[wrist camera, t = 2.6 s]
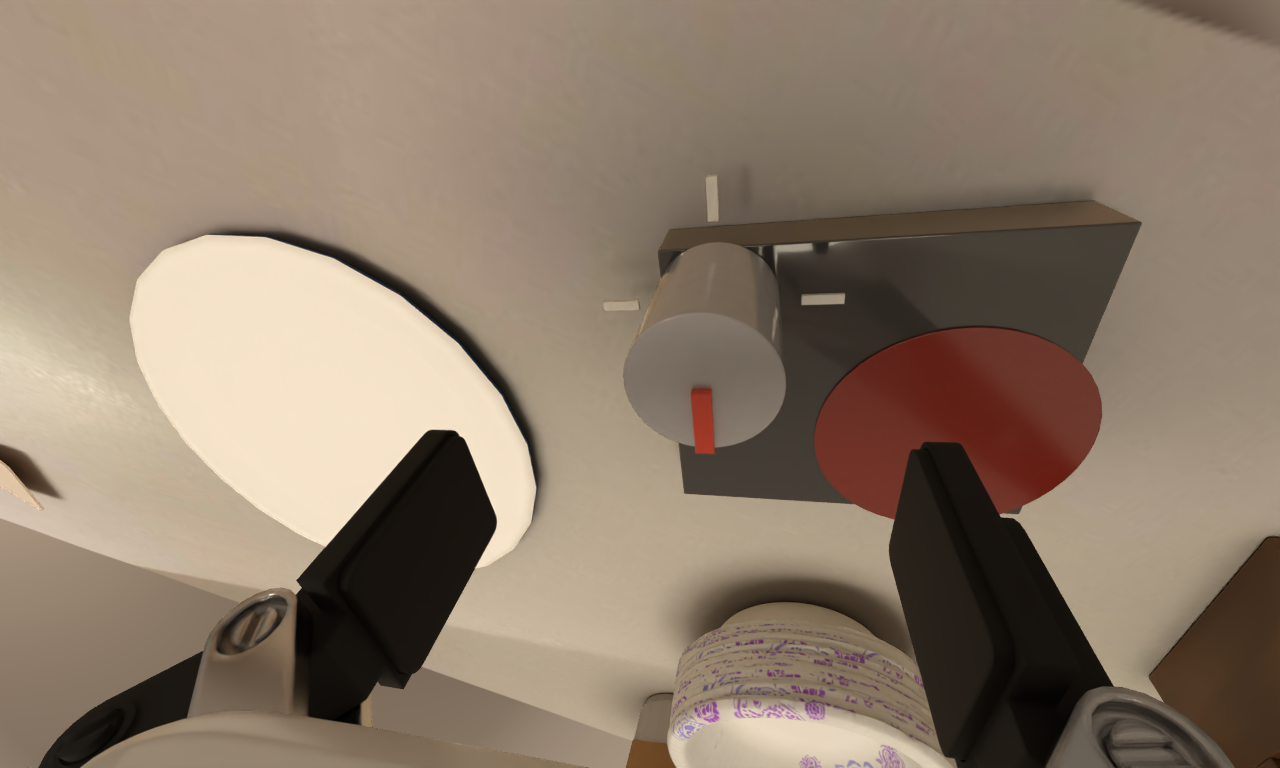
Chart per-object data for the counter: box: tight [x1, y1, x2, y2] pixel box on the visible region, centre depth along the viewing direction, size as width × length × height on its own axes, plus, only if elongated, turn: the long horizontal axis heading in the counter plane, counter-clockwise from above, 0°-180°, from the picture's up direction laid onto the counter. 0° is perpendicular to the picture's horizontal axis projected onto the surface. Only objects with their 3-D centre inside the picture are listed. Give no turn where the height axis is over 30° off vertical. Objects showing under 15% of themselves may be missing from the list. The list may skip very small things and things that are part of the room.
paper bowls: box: [667, 602, 957, 768], centre depth 30 cm, size 15×15×8 cm
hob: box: [603, 175, 1142, 514], centre depth 19 cm, size 14×16×3 cm
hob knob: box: [623, 242, 786, 454], centre depth 15 cm, size 4×4×6 cm
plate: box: [129, 234, 537, 569], centre depth 30 cm, size 25×25×1 cm
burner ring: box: [814, 326, 1102, 519], centre depth 19 cm, size 10×10×1 cm
